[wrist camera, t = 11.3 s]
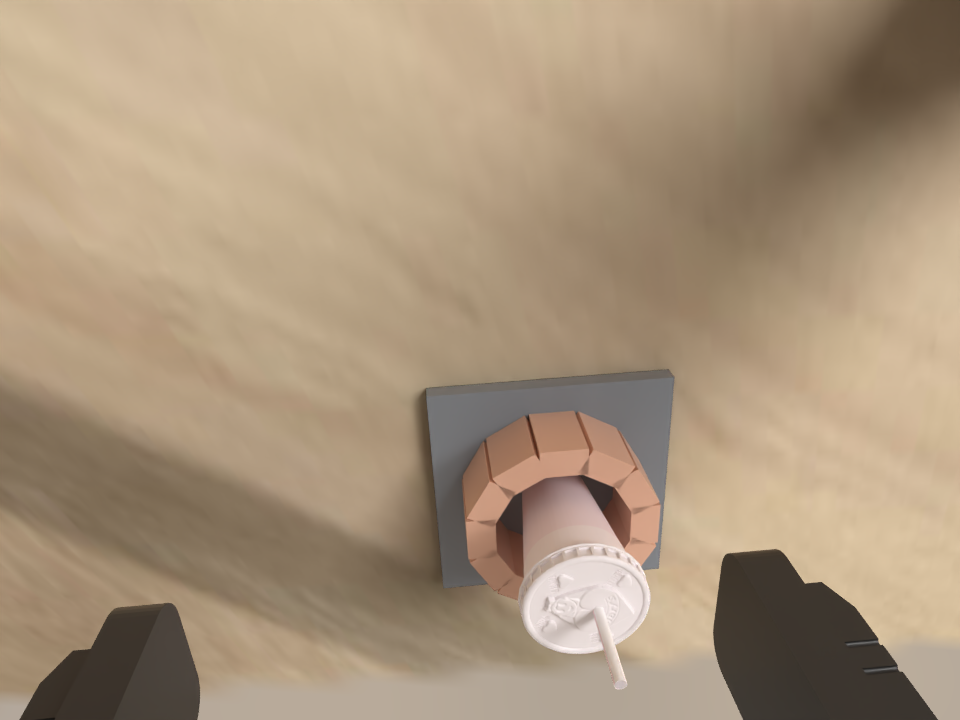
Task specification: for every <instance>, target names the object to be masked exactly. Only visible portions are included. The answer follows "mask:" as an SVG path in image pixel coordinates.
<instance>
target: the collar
mask: <svg viewBox="0 0 960 720" xmlns="http://www.w3.org/2000/svg"><path fill="white" fill-rule="evenodd" d="M673 387H674V376H673V375H672V373H671V372H670V371H669V369H668V370H655V371H642V372H629V373H616V374H603V375H590V376H578V377H565V378H552V379H539V380H526V381H513V382H500V383H487V384H474V385H461V386H448V387H435V388H426V399H427V410H428V421H429V432H430V443H431V454H432V466H433V477H434V488H435V499H436V510H437V521H438V532H439V543H440V554H441V566H442V577H443V588H451V587H462V586H473V585H484V584H489V585H490V587H491V588H492V589H493V590H494V591H496V590H497V591H498V594H501V595H504V596H507V597H510V598H513V599H516V600H518V596H519V588H520V586H521V584H522V581H523V579H524V558H523V512H522V491H523V490H525V489H527V488H529V487H530V486H532V485H534V484H536V483H537V482H539V481H541V480H543V479H545V478H551V477H563V476H575V475H580V476H581V478H582V480H583V481H584V483H585V485H586V486H587V488H588V490H589V491H590V493H591V495H592V496H593V498H594V500H595V501H596V503H597V505H598V506H599V508H600V510H601V511H602V513H603V515H604V517H605V518H606V520H607V522H608V523H609V525H610V527H611V528H612V530H613V532H614V533H615V535H616V537H617V538H618V540H619V542H620V543H621V545H622V546H623V548H624V550H625V552H627V553H629V554H630V555H631V556H632V557H633V558H634V559H635V560H636V561H638V562H639V564H640V566H641V568H642V570H648V569H659V558H660V546H661V534H662V521H663V509H664V497H665V485H666V473H667V460H668V448H669V436H670V424H671V412H672V400H673Z"/></svg>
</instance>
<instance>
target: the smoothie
mask: <svg viewBox="0 0 960 720" xmlns="http://www.w3.org/2000/svg"><path fill="white" fill-rule="evenodd" d="M522 512H523V558H524V579H523V581H522V584H521V586H520V588H519V596H518V604H519V608H520V612H521V615H522V619H523V623H524V626H525V628H526V630H527V631H528V633H529V634H530V635H531V637H532V638H534V639H535V640H536V641H537V642H538V643H540V644H541V645H543V646H545V647H547V648H549V649H551V650H554V651H558V652H562V653H569V654H586V653H593V652H597V651H601V650H604V653H605V656H606V659H607V663H608V666H609V670H610V673H611V676H612V680H613V683H614V686H615V688H617V689H623V688H625V687H626V686H627V682H626V679H625V675H624V672H623V669H622V666H621V663H620V659H619V656H618V653H617V650H616V647H615V645H616V644H618V643H620V642H621V641H623V640H625V639H626V638H628V637H629V636H630V635H631V634H632V633H633V632H634V631H636V629H637V628H638V627H639V626H640V625H641V623H642V622H643V620H644V619H645V617H646V615H647V612H648V609H649V606H650V590H649V587H648V584H647V581H646V577H645V573H644V571H643V570H642V568H641V566H640V564H639V562H638V561H636V560H635V559H634V558H633V557H632V556H631V555H630V554H629V553H627V552H625V550H624V548H623V546H622V545H621V543H620V542H619V540H618V538H617V537H616V535H615V533H614V532H613V530H612V528H611V527H610V525H609V523H608V522H607V520H606V518H605V517H604V515H603V513H602V511H601V510H600V508H599V506H598V505H597V503H596V501H595V500H594V498H593V496H592V495H591V493H590V491H589V490H588V488H587V486H586V485H585V483H584V481H583V480H582V478H581V476H580V475H575V476H563V477H551V478H545V479H543V480H541V481H539V482H537V483H536V484H534V485H532V486H530V487H529V488H527V489H525V490H523V491H522Z"/></svg>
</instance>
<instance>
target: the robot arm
mask: <svg viewBox="0 0 960 720" xmlns="http://www.w3.org/2000/svg"><path fill="white" fill-rule="evenodd" d="M713 636H714V646H715V652H716V656H717V660H718V664H719V667H720V669H721V672H722V674H723V677H724V679H725V681H726V683H727V685H728V688H729V689H730V691H731V694H732V696H733V698H734V701H735V703H736V705H737V707H738V709H739V711H740V714H741V716H742V718H743V720H938V719H937V718H936V716H935V715H934V714H933V712H932V711H931V710H930V708H929V707H928V705H927V704H926V703H925V701H924V700H923V699H922V697H921V696H920V695H919V693H918V692H917V691H916V689H915V688H914V687H913V685H912V684H911V683H910V681H909V680H908V678H907V677H906V676H905V674H904V673H903V672H899V670H898V667H897V664H896V662H895V661H894V659H893V658H892V657H891V655H890V654H889V653H888V651H887V650H886V649H885V647H884V646H883V645H880V644H879V642H878V638H877V636H876V635H875V634H874V632H873V631H872V630H871V628H870V627H869V625H868V624H867V623H866V621H865V620H864V619H863V617H862V616H861V615H860V613H859V612H858V611H857V609H856V608H855V607H854V606H853V605H851V604H850V603H849V602H847V601H846V600H845V599H843V598H842V597H841V596H839V595H838V594H837V593H835V592H834V591H833V590H831V589H830V588H829V587H827V586H826V585H825V584H823V583H822V582H818V583H807V584H805V583H804V582H803V580H802V579H801V578H800V576H799V575H798V573H797V572H796V570H795V569H794V567H793V566H792V564H791V563H790V561H789V560H788V558H787V557H786V556H785V554H783V553H782V552H781V551H780V550H777V549H772V550H761V551H750V552H740V553H729V554H726V555H725V556H724V558H723V561H722V566H721V574H720V582H719V590H718V597H717V605H716V613H715V620H714V629H713ZM199 704H200V686H199V678H198V674H197V671H196V668H195V665H194V661H193V658H192V655H191V652H190V649H189V645H188V642H187V639H186V636H185V633H184V629H183V626H182V623H181V620H180V617H179V613H178V611H177V609H176V607H175V606H174V605H173V604H171V603H164V604H153V605H142V606H132V607H121V608H116V609H114V610H113V611H112V612H111V613H110V614H109V615H108V617H107V619H106V621H105V623H104V624H103V626H102V628H101V630H100V632H99V634H98V636H97V638H96V640H95V642H94V644H93V646H92V648H91V649H87V650H76V651H72V652H71V653H70V654H69V655H68V656H67V657H66V658H65V659H64V660H63V661H62V662H61V663H60V664H59V665H58V666H57V667H56V668H55V669H54V670H53V671H52V672H51V673H50V674H49V675H48V676H47V677H46V678H45V679H44V680H43V681H42V682H41V683H40V684H39V686H38V688H37V690H36V691H35V693H34V695H33V697H32V699H31V700H30V702H29V704H28V706H27V707H26V709H25V711H24V713H23V715H22V716H21V718H20V720H197V718H198V712H199Z"/></svg>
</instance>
